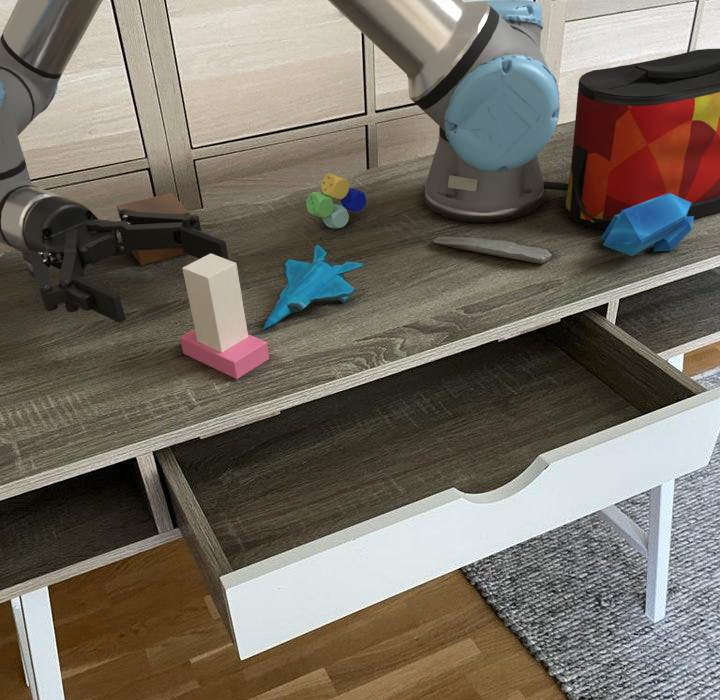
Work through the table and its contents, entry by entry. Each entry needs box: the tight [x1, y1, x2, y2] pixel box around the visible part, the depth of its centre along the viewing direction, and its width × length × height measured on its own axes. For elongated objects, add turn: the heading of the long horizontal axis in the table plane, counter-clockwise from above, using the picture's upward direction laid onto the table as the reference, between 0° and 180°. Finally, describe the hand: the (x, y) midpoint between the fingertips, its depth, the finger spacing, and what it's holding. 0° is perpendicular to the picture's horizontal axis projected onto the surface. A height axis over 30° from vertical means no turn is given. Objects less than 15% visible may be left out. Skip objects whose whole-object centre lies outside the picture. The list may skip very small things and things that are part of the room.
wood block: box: [116, 192, 190, 266], centre depth 105 cm, size 7×7×5 cm
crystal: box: [600, 193, 694, 257], centre depth 97 cm, size 7×9×12 cm
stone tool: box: [432, 235, 552, 264], centre depth 101 cm, size 14×1×5 cm
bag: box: [564, 48, 720, 230], centre depth 104 cm, size 30×14×16 cm, turn 114°
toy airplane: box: [262, 243, 366, 330], centre depth 93 cm, size 12×10×4 cm
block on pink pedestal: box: [179, 254, 270, 380], centre depth 84 cm, size 8×4×10 cm, turn 49°
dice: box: [305, 173, 367, 229], centre depth 107 cm, size 8×3×6 cm, turn 127°
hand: (174, 281), depth 86 cm, fingers open, 13 cm apart
